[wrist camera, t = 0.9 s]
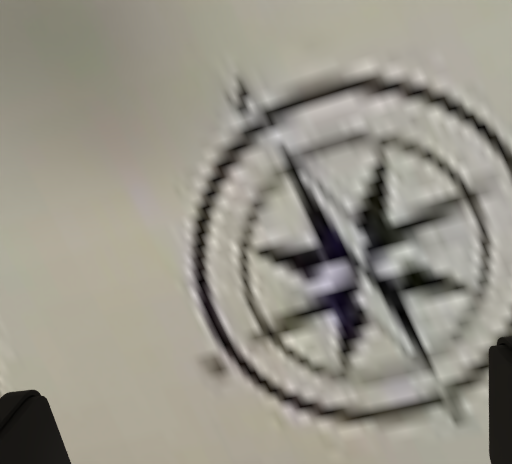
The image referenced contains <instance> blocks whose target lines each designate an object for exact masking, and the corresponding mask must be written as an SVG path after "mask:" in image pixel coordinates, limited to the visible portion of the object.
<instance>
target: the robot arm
mask: <svg viewBox="0 0 512 464" xmlns="http://www.w3.org/2000/svg"><path fill="white" fill-rule="evenodd" d="M489 454H490V460H491V464H512V336H509V337H501V338H499V339H498V341H497V346H491V347H490V349H489ZM0 464H71V462H70V459H69V457H68V454H67V451H66V449H65V446H64V443H63V440H62V438H61V435H60V432H59V430H58V427H57V424H56V422H55V419H54V416H53V414H52V411H51V408H50V406H49V403H48V401H47V399H46V398H45V397H44V396H41V395H40V393H39V392H38V391H36V390H26V391H17V392H9V393H6V394H5V395H4V396H2V397H1V398H0Z"/></svg>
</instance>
